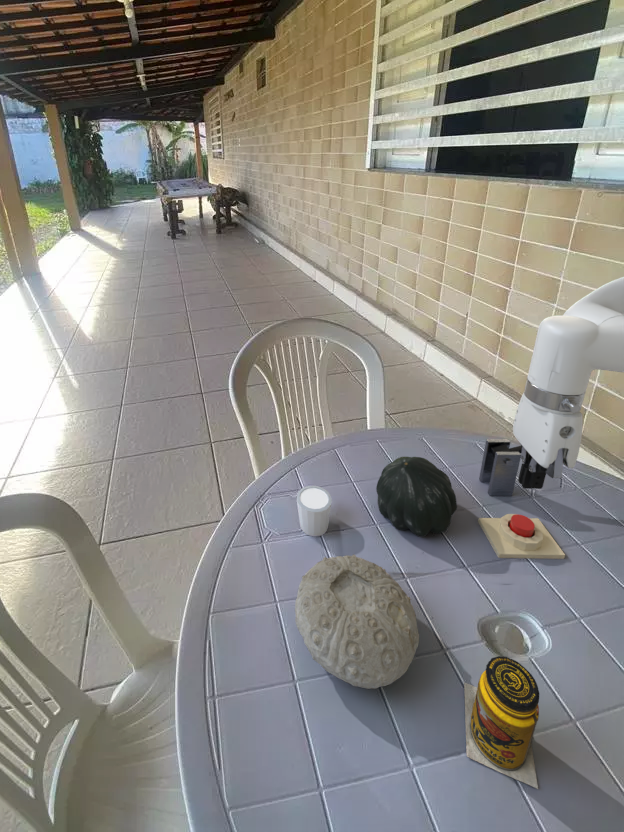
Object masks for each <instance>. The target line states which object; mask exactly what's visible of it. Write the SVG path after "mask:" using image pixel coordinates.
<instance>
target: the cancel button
mask: <svg viewBox="0 0 624 832" xmlns="http://www.w3.org/2000/svg"><path fill="white" fill-rule="evenodd" d="M515 514H516V515H513V516H512V517H511V521H510V529H511V530H512V531H513V532H514V533H515V534H517V535H519V536H521V537H526V538H528V537H531V536H532V535H533V532H534V528H535V525H534V523H533V521H532V520H530V519H529V518H530V517H528V516H526V515H523V514H518V513H515Z"/></svg>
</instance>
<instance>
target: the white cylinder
mask: <svg viewBox="0 0 624 832" xmlns="http://www.w3.org/2000/svg"><path fill="white" fill-rule="evenodd" d="M332 503H333V498H332V496H331V493H330V492H329V491H328V490H327V489H326V488H323V487H322V486H317V485H307V486H304V487H302V488H300V490H299V491H297V494H296V505H297V511H298V520H299V521H298V522H299V527H300V529H301V531H302V532H303V533H304V534H306V535H307V536H311V537H321V536H323V535H325V534H326V533H327V532H328V528H329V525H330V524H329V523H330V517H331V516H330V515H331V509H332Z"/></svg>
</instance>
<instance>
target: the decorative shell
mask: <svg viewBox="0 0 624 832" xmlns="http://www.w3.org/2000/svg"><path fill="white" fill-rule="evenodd" d="M411 599H412V598H411V597H410V596H408V595H407V593H406V592H405V590H404V589H403V588H402V587H401V585H400V584H399V582H397V581H396V580H395V579H394V578H393V577H392V576H391V575H390V574H389V573H388V572H387V571H386V569H385V568H383V567H382V566H379V565H378V564H376V563H375V562H371V561H369V560H367V559H364V558H362V557H358V556H357V555H356V554H352V555H343V556H342V555H338V556H335V557H334V556H331V557H326V556H324V557H323V558H322V560H320V561H317V562H316V564H314V565H313V566H312V567H311V568H309V570H308V571H307V572H305V574H304V575H303V576H302V577H301V581H300V583H299V586H298V589H297V596H296V599H295V603H294V613H295V619H294V622H295V626H296V628H297V630H298V632H299V634H300V635H301V637H302V639H303V643H304V645H305V646H306V648H307V650H308V652H309V655H310V656H311V657H312V660H313V661H314V662H316V663H318V665H320V666H321V667H322V668H323V669H324V670H325V671H326V672H327V673H329V674H330V675H332V676H334V677H336V678H338V679H340V680H342V681H343V682H345V683H346V684H350V685H351V686H353V687H357V688H363V689H367V690H369V689H373V690H376V689H378V688H381V687H386V686H389V685H392V684H393V683H394V682H396V681H397V680H399V679H400V678H402V677H403V676H404V675H405V673H406V672H407V671H408V670H409V667H410V665H411V664H412V662H413V660H414V658H415V655H416V651H417V649H418V647H419V643H420V634H419V630H418V623H417V616H416V611H415V608H414V606H413V603H412V602H411Z"/></svg>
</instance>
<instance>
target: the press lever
mask: <svg viewBox="0 0 624 832" xmlns="http://www.w3.org/2000/svg"><path fill="white" fill-rule="evenodd" d="M491 449H492V454H493V457H494V458H495V453H496V452H519V453H520V454H521V452H522V448H521V445H518V446H514V447H509V448H508V447H507V446H506V445H501V446H496V447H492V448H491Z"/></svg>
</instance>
